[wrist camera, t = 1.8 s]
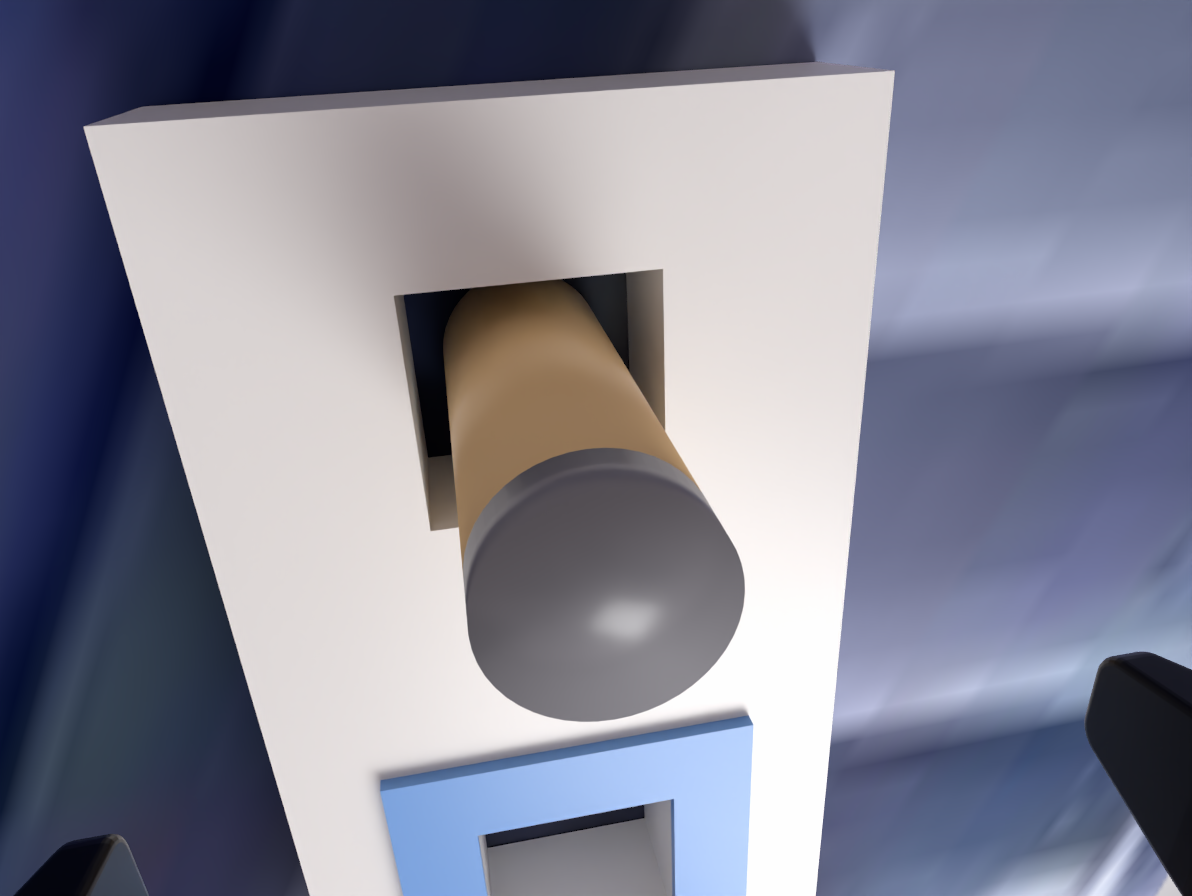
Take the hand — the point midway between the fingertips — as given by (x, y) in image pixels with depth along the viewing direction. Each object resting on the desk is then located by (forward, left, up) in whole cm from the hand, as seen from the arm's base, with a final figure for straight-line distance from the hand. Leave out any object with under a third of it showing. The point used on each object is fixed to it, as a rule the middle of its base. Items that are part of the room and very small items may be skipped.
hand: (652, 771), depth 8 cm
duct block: (0, -6, -11) cm, 13 cm away
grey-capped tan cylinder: (0, 0, -11) cm, 11 cm away
